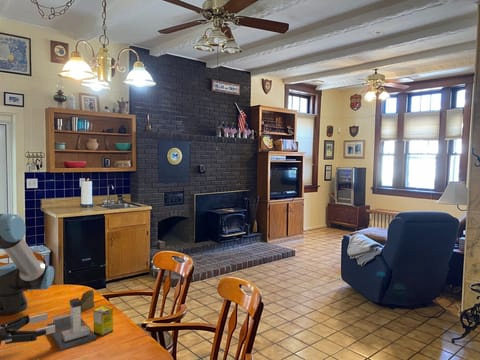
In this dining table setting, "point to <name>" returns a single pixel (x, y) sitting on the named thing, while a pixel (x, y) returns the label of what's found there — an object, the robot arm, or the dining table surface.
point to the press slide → (75, 323)
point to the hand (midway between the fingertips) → (51, 322)
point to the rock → (87, 300)
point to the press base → (65, 324)
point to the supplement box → (103, 320)
